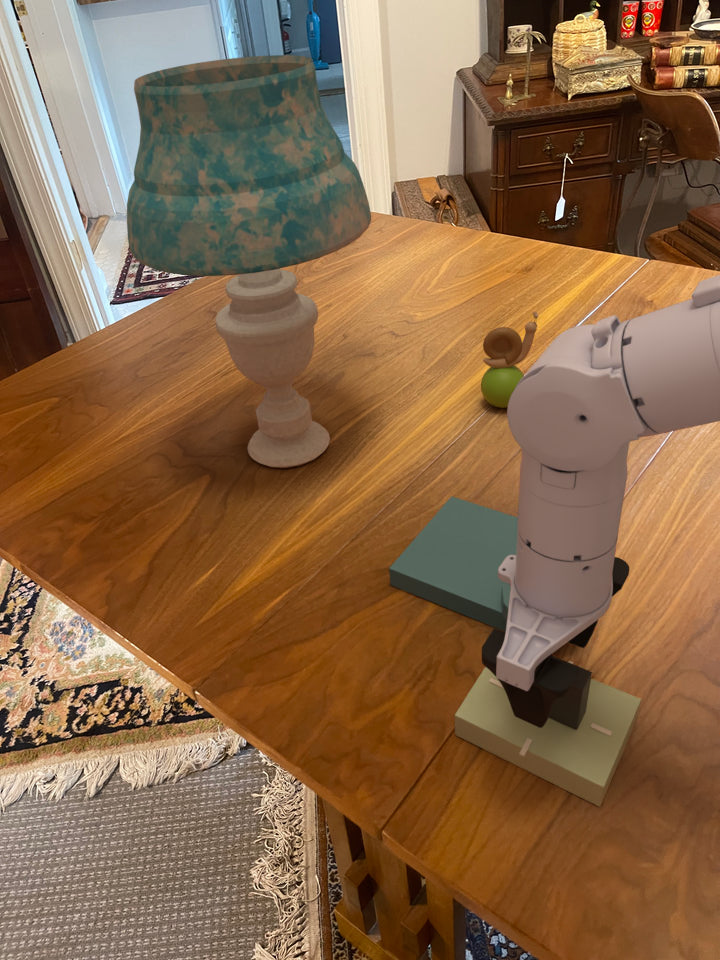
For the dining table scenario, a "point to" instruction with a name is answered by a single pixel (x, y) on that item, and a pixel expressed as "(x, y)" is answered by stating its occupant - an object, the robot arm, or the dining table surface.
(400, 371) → the dining table surface
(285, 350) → the table lamp
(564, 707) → the dimmer knob
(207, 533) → the dining table surface
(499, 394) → the snail figurine
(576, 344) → the robot arm
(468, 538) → the switch box
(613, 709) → the dimmer panel
